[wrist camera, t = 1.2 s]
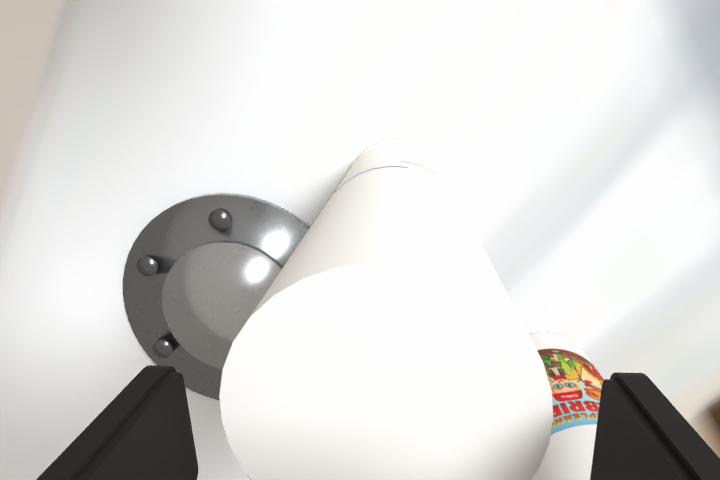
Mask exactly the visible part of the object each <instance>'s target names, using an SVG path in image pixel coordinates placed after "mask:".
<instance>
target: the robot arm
mask: <svg viewBox="0 0 720 480" xmlns="http://www.w3.org/2000/svg"><path fill="white" fill-rule="evenodd" d="M197 476H198V463H197V457H196V451H195V445H194V439H193V433H192V427H191V421H190V415H189V409H188V403H187V397H186V390H185V384H184V379H183V375H182V374H181V373H180V372H177V371H176V369H175V368H174V367H173V366H146V367H145V368H144V369H143V370H142V371H141V372H140V373H139V374H138V375H137V376H136V377H135V378H134V379H133V380H132V381H131V382H130V383H129V384H128V385H127V386H126V387H125V388H124V389H123V390H122V392H121V393H120V394H119V395H118V396H117V397H116V398H115V399H114V400H113V401H112V402H111V403H110V404H109V405H108V406H107V407H106V408H105V409H104V410H103V411H102V412H101V413H100V414H99V415H98V416H97V417H96V418H95V419H94V421H93V422H92V423H91V424H90V425H89V426H88V427H87V428H86V429H85V430H84V431H83V432H82V433H81V434H80V435H79V436H78V437H77V438H76V439H75V440H74V441H73V442H72V443H71V444H70V445H69V446H68V447H67V448H66V450H65V451H64V452H63V453H62V454H61V455H60V456H59V457H58V458H57V459H56V460H55V461H54V462H53V463H52V464H51V465H50V466H49V467H48V468H47V469H46V470H45V471H44V472H43V473H42V474H41V475H40V476H39V478H38V479H37V480H197ZM590 480H720V458H719V457H718V456H717V455H716V454H715V453H714V451H713V450H712V449H711V448H710V447H709V446H708V445H707V444H706V442H705V441H704V440H703V439H702V438H701V437H700V436H699V434H698V433H697V432H696V431H695V430H694V429H693V428H692V427H691V425H690V424H689V423H688V422H687V421H686V420H685V419H684V417H683V416H682V415H681V414H680V413H679V412H678V411H677V410H676V408H675V407H674V406H673V405H672V404H671V403H670V402H669V400H668V399H667V398H666V397H665V396H664V395H663V394H662V392H661V391H660V390H659V389H658V388H657V387H656V386H655V385H654V383H653V382H652V381H651V380H650V379H649V378H648V377H647V376H646V375H645V374H643V373H613V374H612V376H611V377H610V380H606V379H605V380H604V381H603V383H602V388H601V396H600V404H599V412H598V420H597V428H596V436H595V444H594V452H593V460H592V468H591V476H590Z"/></svg>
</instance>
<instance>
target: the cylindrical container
mask: <svg viewBox="0 0 720 480" xmlns="http://www.w3.org/2000/svg"><path fill="white" fill-rule="evenodd" d="M219 398H220V409H221V420H222V424H223V427H224V430H225V434H226V437H227V440H228V444H229V446H230V448H231V450H232V452H233V453H234V455H235V457H236V459H237V461H238V463H239V465H240V467H241V468H242V470H243V471H244V472H245V473H246V475H247V476H248V477H249V478H250V480H531V479H532V478H533V476H534V475H535V473H536V472H537V470H538V469H539V467H540V464H541V462H542V459H543V457H544V455H545V452H546V450H547V447H548V445H549V441H550V435H551V429H552V422H553V404H552V390H551V387H550V383H549V380H548V377H547V373H546V370H545V367H544V363H543V361H542V359H541V357H540V355H539V353H538V351H537V349H536V347H535V346H534V344H533V342H532V340H531V338H530V336H529V334H528V332H527V330H526V328H525V326H524V324H523V323H522V321H521V319H520V317H519V315H518V313H517V311H516V309H515V307H514V305H513V303H512V301H511V299H510V298H509V296H508V294H507V292H506V290H505V288H504V286H503V284H502V282H501V280H500V278H499V276H498V275H497V273H496V271H495V269H494V267H493V265H492V263H491V261H490V259H489V257H488V255H487V253H486V252H485V250H484V248H483V246H482V244H481V242H480V240H479V238H478V236H477V234H476V232H475V230H474V228H473V227H472V225H471V223H470V221H469V219H468V217H467V215H466V213H465V211H464V209H463V207H462V206H461V204H460V202H459V200H458V198H457V196H456V195H455V193H454V191H453V189H452V187H451V185H450V183H449V181H448V179H447V177H446V175H445V173H444V171H443V169H442V168H441V166H440V164H439V162H438V161H437V159H436V158H435V157H434V156H433V155H432V154H431V152H430V151H428V150H427V149H425V148H424V147H423V146H421V145H419V144H416V143H414V142H412V141H407V140H403V139H392V140H386V141H382V142H379V143H376V144H374V145H372V146H371V147H369V148H368V149H366V150H365V151H364V152H363V153H362V154H361V155H360V156H359V157H358V158H357V159H356V161H355V162H354V164H353V165H352V167H351V168H350V169H349V171H348V172H347V174H346V175H345V177H344V178H343V180H342V181H341V183H340V184H339V186H338V187H337V189H336V190H335V192H334V193H333V195H332V196H331V198H330V199H329V201H328V202H327V204H326V205H325V207H324V208H323V209H322V211H321V212H320V214H319V215H318V217H317V218H316V220H315V221H314V223H313V224H312V225H311V227H310V228H309V230H308V231H307V233H306V234H305V236H304V237H303V239H302V240H301V242H300V243H299V244H298V246H297V247H296V249H295V250H294V252H293V253H292V255H291V256H290V258H289V259H288V261H287V262H286V264H285V265H284V267H283V268H282V270H281V271H280V273H279V274H278V276H277V277H276V279H275V280H274V282H273V283H272V285H271V286H270V288H269V289H268V291H267V292H266V294H265V295H264V297H263V298H262V300H261V301H260V303H259V304H258V306H257V307H256V308H255V310H254V311H253V313H252V314H251V316H250V317H249V319H248V320H247V322H246V323H245V325H244V326H243V328H242V329H241V331H240V332H239V334H238V335H237V337H236V338H235V340H234V341H233V343H232V346H231V348H230V351H229V354H228V356H227V359H226V362H225V364H224V367H223V371H222V379H221V386H220V394H219Z"/></svg>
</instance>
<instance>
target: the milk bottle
mask: <svg viewBox="0 0 720 480" xmlns="http://www.w3.org/2000/svg"><path fill="white" fill-rule="evenodd" d="M529 336H530V338H531V340H532V342H533V344H534V346H535V347H536V349H537V351H538V353H539V355H540V357H541V359H542V361H543V363H544V367H545V370H546V373H547V377H548V380H549V383H550V387H551V390H552V404H553V422H552V429H551V435H550V441H549V445H548V447H547V450H546V452H545V455H544V457H543V459H542V462H541V464H540V467H539V469H538V470H537V472H536V473H535V475H534V476H533V478H532V479H531V480H590V476H591V468H592V460H593V452H594V444H595V436H596V428H597V420H598V412H599V404H600V396H601V388H602V383H603V381H604V379H603V378H602V376H601V375H600V373H599V372H598V371H597V369H596V368H595V366H594V365H593V364H592V362H591V361H590V359H589V358H588V357H587V355H586V354H585V353H584V352H583V350H582V349H581V348H580V347H579V346H578V345H577V344H575V343H574V342H572V341H571V340H569V339H567V338H565V337H562V336H559V335H555V334H551V333H532V334H529Z"/></svg>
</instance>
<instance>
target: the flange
mask: <svg viewBox="0 0 720 480" xmlns="http://www.w3.org/2000/svg"><path fill="white" fill-rule="evenodd" d="M308 230H309V227H308V226H307V225H306V224H304V223H303V222H302V221H301V220H299V219H298V218H297V217H296V216H294V215H292V214H291V213H289V212H288V211H286V210H284V209H283V208H281V207H278V206H276V205H274V204H272V203H270V202H267V201H264V200H261V199H258V198H255V197H251V196H245V195H239V194H225V193H220V194H208V195H203V196H198V197H194V198H191V199H188V200H185V201H183V202H180V203H178V204H176V205H174V206H172V207H170V208H169V209H167V210H165V211H163V212H162V213H160V214H159V215H158V216H157V217H155V218H154V219H153V220H152V221H151V222H150V223H149V224H148V225H147V226H146V227H145V228H144V229H143V230H142V232H141V233H140V234H139V236H138V237H137V239H136V240H135V242H134V244H133V246H132V248H131V250H130V252H129V255H128V258H127V262H126V265H125V270H124V277H123V296H124V303H125V309H126V312H127V316H128V320H129V322H130V324H131V327H132V329H133V332H134V334H135V335H136V337H137V339H138V341H139V343H140V344H141V346H142V347H143V348H144V350H145V351H146V353H147V354H148V355H149V357H150V358H151V359H152V360H153V361H154V362H155V363H156V364H157V365H158V366H173V367H174V368H175V369H176V371H177V372H180V373H181V374H182V375H183V379H184V384H185V386H186V387H187V388H189V389H191V390H193V391H195V392H198V393H200V394H202V395H205V396H208V397H211V398H214V399H217V400H220V398H219V394H220V386H221V379H222V371H223V367H224V364H225V362H226V359H227V356H228V354H229V351H230V348H231V346H232V343H233V341H234V340H235V338H236V337H237V335H238V334H239V332H240V331H241V329H242V328H243V326H244V325H245V323H246V322H247V320H248V319H249V317H250V316H251V314H252V313H253V311H254V310H255V308H256V307H257V306H258V304H259V303H260V301H261V300H262V298H263V297H264V295H265V294H266V292H267V291H268V289H269V288H270V286H271V285H272V283H273V282H274V280H275V279H276V277H277V276H278V274H279V273H280V271H281V270H282V268H283V267H284V265H285V264H286V262H287V261H288V259H289V258H290V256H291V255H292V253H293V252H294V250H295V249H296V247H297V246H298V244H299V243H300V242H301V240H302V239H303V237H304V236H305V234H306V233H307V231H308Z"/></svg>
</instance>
